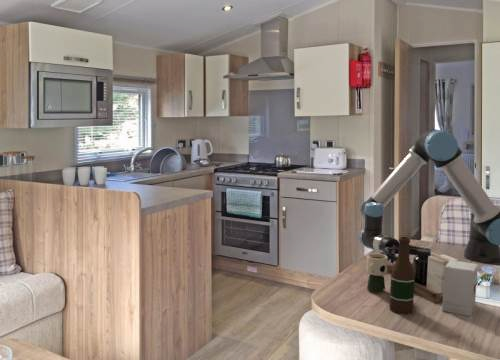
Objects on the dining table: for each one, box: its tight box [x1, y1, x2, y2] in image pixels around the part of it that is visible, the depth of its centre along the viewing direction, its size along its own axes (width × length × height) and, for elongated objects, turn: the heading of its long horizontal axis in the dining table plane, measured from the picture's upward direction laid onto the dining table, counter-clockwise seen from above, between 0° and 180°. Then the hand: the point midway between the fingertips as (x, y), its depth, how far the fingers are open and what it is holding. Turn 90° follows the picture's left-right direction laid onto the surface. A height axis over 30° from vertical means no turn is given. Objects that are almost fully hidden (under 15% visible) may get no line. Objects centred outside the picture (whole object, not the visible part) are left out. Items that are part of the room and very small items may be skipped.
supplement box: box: [441, 260, 479, 317], centre depth 159 cm, size 9×9×15 cm
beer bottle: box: [389, 236, 415, 315], centre depth 158 cm, size 8×8×24 cm
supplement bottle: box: [412, 249, 432, 285], centre depth 179 cm, size 7×7×12 cm
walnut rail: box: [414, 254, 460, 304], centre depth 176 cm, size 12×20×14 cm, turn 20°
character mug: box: [366, 252, 388, 294], centre depth 175 cm, size 11×7×13 cm, turn 142°
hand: (422, 260), depth 179 cm, fingers open, 13 cm apart
